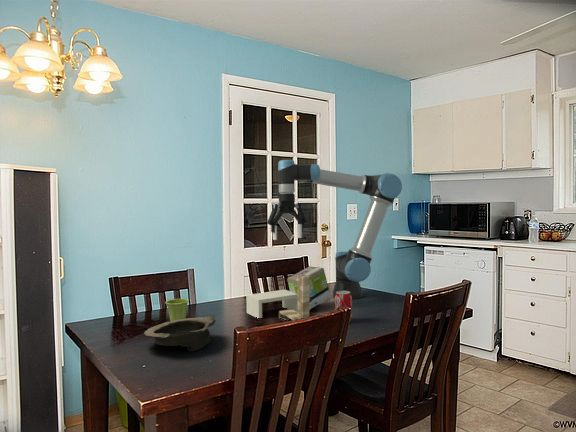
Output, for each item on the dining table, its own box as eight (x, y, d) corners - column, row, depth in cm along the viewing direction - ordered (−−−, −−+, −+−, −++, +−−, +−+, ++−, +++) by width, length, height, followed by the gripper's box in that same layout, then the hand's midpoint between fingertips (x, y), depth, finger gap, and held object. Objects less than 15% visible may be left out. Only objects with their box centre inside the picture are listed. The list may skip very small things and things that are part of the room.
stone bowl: (223, 351, 147) (220, 324, 147) (144, 366, 140) (141, 338, 140) (214, 329, 171) (211, 306, 170) (146, 341, 164) (143, 317, 163)
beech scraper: (312, 325, 176) (312, 275, 174) (299, 327, 173) (299, 277, 171) (291, 314, 190) (291, 268, 188) (278, 316, 187) (279, 270, 185)
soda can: (351, 323, 177) (351, 294, 176) (334, 323, 178) (333, 293, 178) (352, 319, 184) (352, 290, 183) (335, 318, 185) (335, 290, 185)
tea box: (309, 311, 195) (300, 280, 192) (294, 308, 202) (285, 278, 200) (331, 296, 204) (323, 266, 201) (316, 293, 212) (308, 265, 209)
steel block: (290, 317, 190) (290, 314, 190) (296, 320, 186) (296, 317, 186) (279, 319, 188) (279, 316, 187) (285, 322, 183) (285, 319, 183)
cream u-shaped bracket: (285, 306, 207) (284, 289, 207) (299, 311, 197) (298, 294, 197) (246, 312, 197) (246, 295, 197) (259, 318, 187) (258, 300, 186)
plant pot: (161, 323, 182) (160, 303, 182) (174, 317, 191) (174, 298, 191) (180, 325, 179) (180, 304, 179) (193, 319, 188) (192, 299, 188)
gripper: (304, 193, 216) (305, 236, 217) (259, 193, 203) (260, 239, 204) (313, 192, 209) (314, 237, 210) (266, 193, 197) (268, 241, 197)
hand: (287, 238), depth 207 cm, fingers open, 13 cm apart
